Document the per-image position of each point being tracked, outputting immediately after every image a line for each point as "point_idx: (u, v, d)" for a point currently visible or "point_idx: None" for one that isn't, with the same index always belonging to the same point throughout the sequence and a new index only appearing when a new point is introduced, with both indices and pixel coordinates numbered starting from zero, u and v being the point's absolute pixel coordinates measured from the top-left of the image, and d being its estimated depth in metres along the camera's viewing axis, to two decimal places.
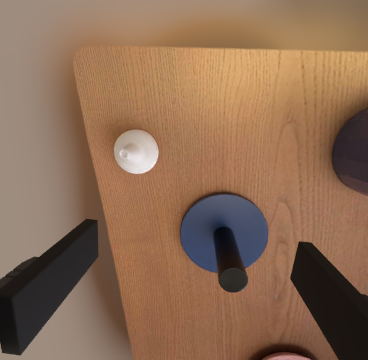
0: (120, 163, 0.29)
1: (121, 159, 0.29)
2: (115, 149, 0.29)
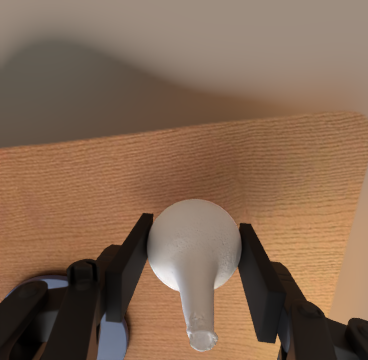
0: (169, 233, 0.12)
1: (179, 242, 0.12)
2: (202, 222, 0.12)
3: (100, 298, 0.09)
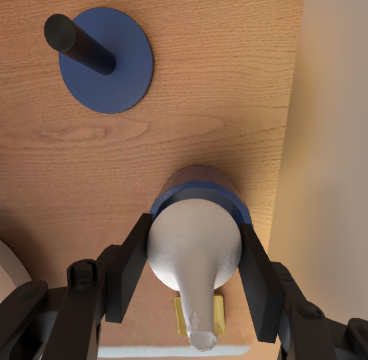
0: (169, 233, 0.12)
1: (179, 242, 0.12)
2: (202, 222, 0.12)
3: (100, 298, 0.09)
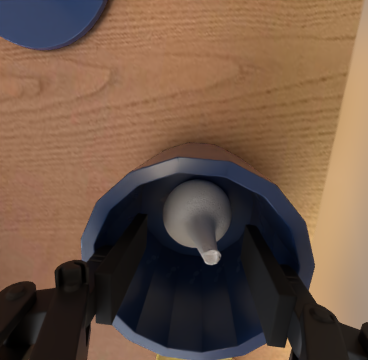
0: (181, 201, 0.17)
1: (189, 207, 0.17)
2: (204, 193, 0.17)
3: (89, 299, 0.09)
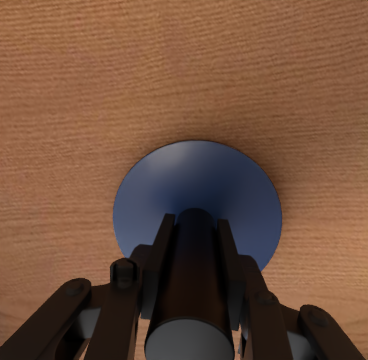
0: None
1: None
2: None
3: (139, 297, 0.09)
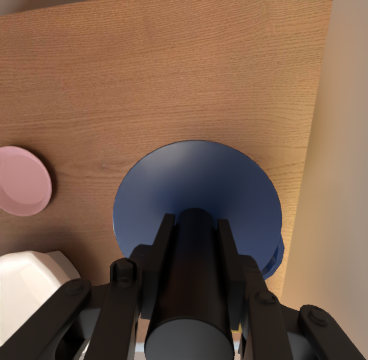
0: None
1: None
2: None
3: (139, 297, 0.09)
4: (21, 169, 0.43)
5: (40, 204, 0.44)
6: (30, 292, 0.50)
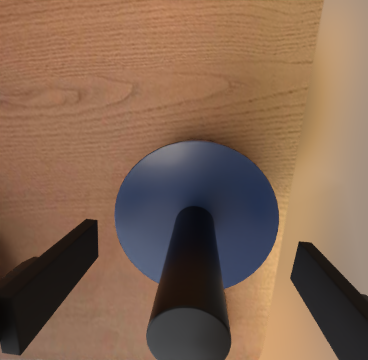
0: None
1: None
2: None
3: None
4: None
5: None
6: None
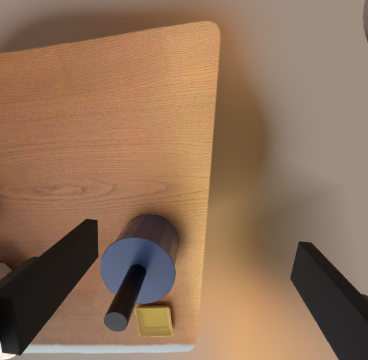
0: None
1: None
2: None
3: None
4: None
5: None
6: None
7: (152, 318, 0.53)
